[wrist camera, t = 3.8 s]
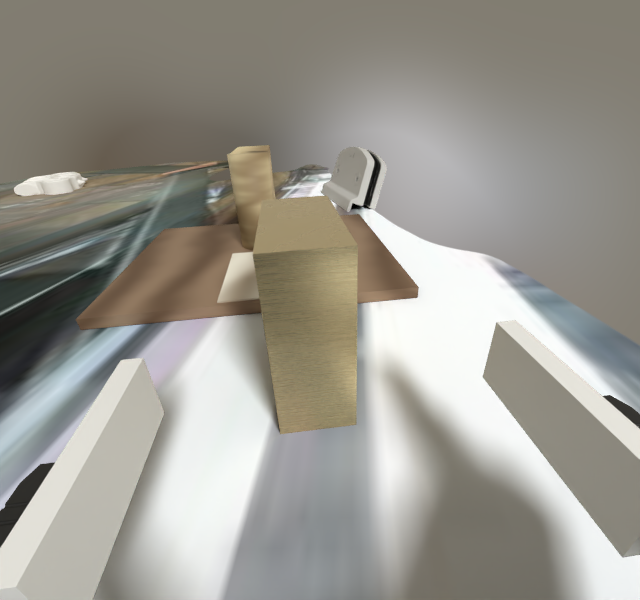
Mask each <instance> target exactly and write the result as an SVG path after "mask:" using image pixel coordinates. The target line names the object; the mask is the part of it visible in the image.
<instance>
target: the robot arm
mask: <svg viewBox="0 0 640 600" xmlns="http://www.w3.org/2000/svg"><path fill="white" fill-rule="evenodd" d="M483 378H484V379H485V381H486V382H487V383H488V384H489V386H490V387H491V388H492V390H493V391H494V392H495V393H496V395H497V396H498V397H499V399H500V400H501V401H502V402H503V404H504V405H505V406H506V408H507V409H508V410H509V412H510V413H511V414H512V415H513V417H514V418H515V419H516V421H517V422H518V423H519V424H520V426H521V427H522V428H523V430H524V431H525V432H526V434H527V435H528V436H529V437H530V439H531V440H532V441H533V443H534V444H535V445H536V446H537V448H538V449H539V450H540V452H541V453H542V454H543V455H544V457H545V458H546V459H547V461H548V462H549V463H550V465H551V466H552V467H553V468H554V470H555V471H556V472H557V474H558V475H559V476H560V477H561V479H562V480H563V481H564V483H565V484H566V485H567V487H568V488H569V489H570V490H571V492H572V493H573V494H574V496H575V497H576V498H577V499H578V501H579V502H580V503H581V505H582V506H583V507H584V508H585V510H586V511H587V512H588V514H589V515H590V516H591V518H592V519H593V520H594V521H595V523H596V524H597V525H598V527H599V528H600V529H601V530H602V532H603V533H604V534H605V536H606V537H607V538H608V539H609V541H610V542H611V543H612V545H613V546H614V547H615V549H616V550H617V551H618V552H619V554H620V555H621V556H622V557H629V556H635V555H640V414H639V413H638V412H637V411H635V410H634V409H633V408H632V407H630V406H628V405H627V404H625V403H623V402H621V401H619V400H618V399H616V398H614V397H612V396H610V395H608V396H602V395H600V394H599V393H598V392H597V391H596V390H595V389H594V388H592V387H591V386H590V385H589V384H588V383H587V382H586V381H584V380H583V379H582V378H581V377H580V376H579V375H578V374H576V373H575V372H574V371H573V370H572V369H571V368H570V367H568V366H567V365H566V364H565V363H564V362H563V361H561V360H560V359H559V358H558V357H557V356H556V355H555V354H553V353H552V352H551V351H550V350H549V349H548V348H547V347H545V346H544V345H543V344H542V343H541V342H540V341H539V340H537V339H536V338H535V337H534V336H533V335H532V334H531V333H529V332H528V331H527V330H526V329H525V328H524V327H523V326H521V325H520V324H519V323H518V322H517V321H516V320H515V321H505V322H497V323H496V327H495V331H494V334H493V338H492V342H491V346H490V350H489V354H488V358H487V362H486V366H485V370H484V374H483ZM163 415H164V410H163V408H162V405H161V402H160V400H159V397H158V395H157V392H156V389H155V387H154V384H153V382H152V379H151V376H150V374H149V371H148V369H147V366H146V364H145V361H144V358H138V359H128V360H121V361H120V363H119V364H118V366H117V367H116V369H115V370H114V372H113V373H112V375H111V377H110V378H109V380H108V381H107V383H106V384H105V386H104V387H103V389H102V391H101V392H100V394H99V395H98V397H97V398H96V400H95V401H94V403H93V405H92V406H91V408H90V409H89V411H88V412H87V414H86V415H85V417H84V419H83V420H82V422H81V423H80V425H79V426H78V428H77V429H76V431H75V433H74V434H73V436H72V437H71V439H70V440H69V442H68V443H67V445H66V447H65V448H64V450H63V451H62V453H61V454H60V456H59V457H58V459H57V461H56V462H55V463H47V464H40V465H39V466H38V467H37V468H36V469H35V470H34V471H33V472H32V473H31V474H29V475H28V476H27V477H26V478H25V479H24V480H23V481H22V482H21V483H20V484H19V485H18V487H17V488H16V490H15V491H14V492H13V494H12V495H11V497H10V498H9V500H8V501H7V502H6V504H5V508H4V509H2V510H1V511H0V600H93V598H94V595H95V592H96V590H97V587H98V585H99V582H100V579H101V577H102V574H103V572H104V569H105V566H106V564H107V561H108V559H109V556H110V553H111V551H112V548H113V546H114V543H115V540H116V538H117V535H118V532H119V530H120V527H121V525H122V522H123V519H124V517H125V514H126V512H127V509H128V506H129V504H130V501H131V499H132V496H133V493H134V491H135V488H136V486H137V483H138V480H139V478H140V475H141V473H142V470H143V467H144V465H145V462H146V460H147V457H148V454H149V452H150V449H151V447H152V444H153V441H154V439H155V436H156V434H157V431H158V428H159V426H160V423H161V421H162V418H163Z"/></svg>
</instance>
